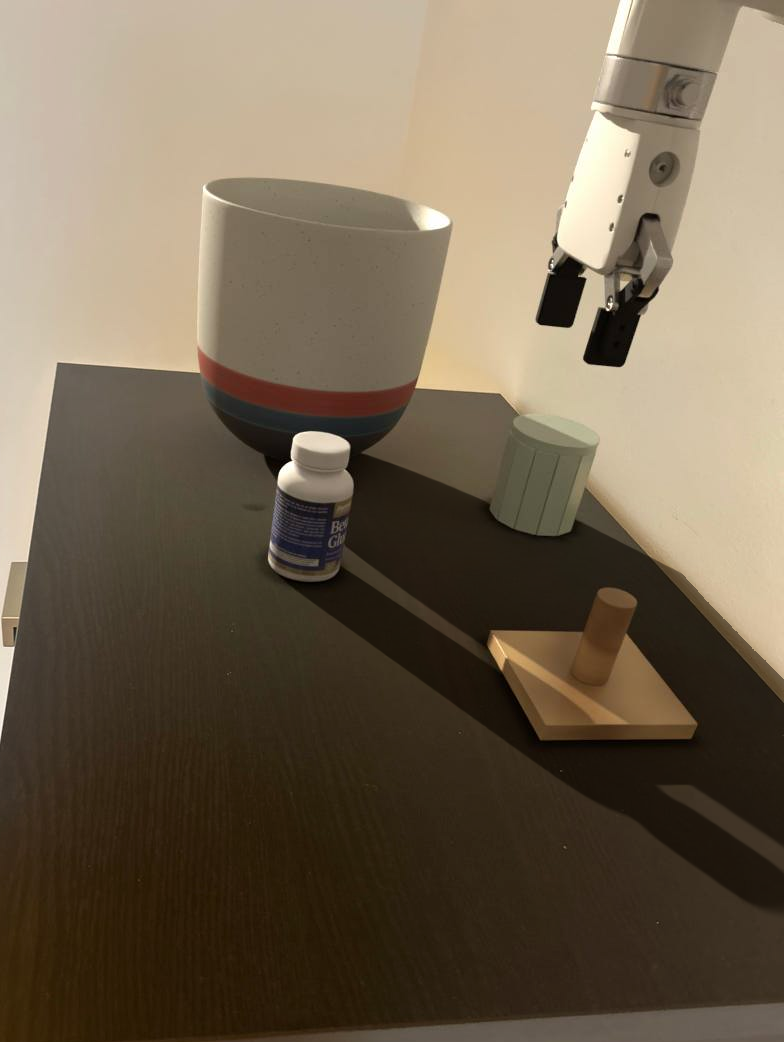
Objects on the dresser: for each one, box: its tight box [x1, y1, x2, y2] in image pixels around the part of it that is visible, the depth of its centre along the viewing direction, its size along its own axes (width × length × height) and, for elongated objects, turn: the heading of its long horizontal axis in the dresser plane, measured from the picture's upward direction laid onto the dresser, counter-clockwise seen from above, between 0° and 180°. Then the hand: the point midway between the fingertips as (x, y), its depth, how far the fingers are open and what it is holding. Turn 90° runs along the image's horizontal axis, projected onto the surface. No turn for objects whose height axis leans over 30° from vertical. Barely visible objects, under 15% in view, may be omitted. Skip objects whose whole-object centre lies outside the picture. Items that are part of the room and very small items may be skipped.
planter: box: [196, 176, 454, 463], centre depth 82 cm, size 20×20×21 cm
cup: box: [489, 413, 601, 537], centre depth 80 cm, size 7×7×8 cm
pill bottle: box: [267, 431, 355, 583], centre depth 67 cm, size 5×5×10 cm
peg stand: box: [486, 587, 698, 741], centre depth 58 cm, size 10×10×7 cm
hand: (576, 344), depth 74 cm, fingers open, 9 cm apart
